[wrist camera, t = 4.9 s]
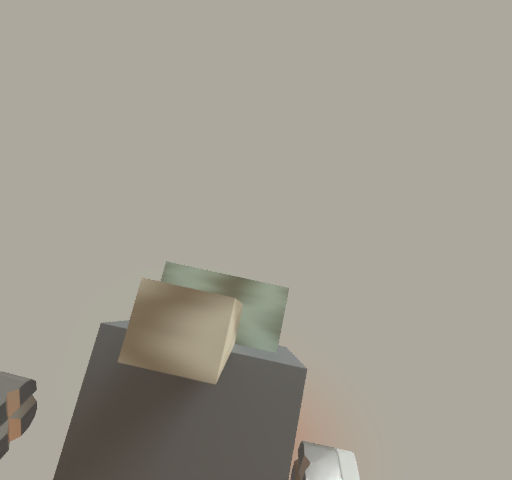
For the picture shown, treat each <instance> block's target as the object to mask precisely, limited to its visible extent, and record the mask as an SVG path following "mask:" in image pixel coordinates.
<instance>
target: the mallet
mask: <svg viewBox="0 0 512 480" xmlns="http://www.w3.org/2000/svg"><path fill="white" fill-rule="evenodd" d="M288 291H289V288H286V287H281V286H277V285H273V284H268V283H263V282H259V281H254V280H249V279H245V278H240V277H236V276H231V275H226V274H222V273H217V272H212V271H208V270H203V269H199V268H194V267H189V266H185V265H180V264H175V263H171V262H166V264H165V268H164V271H163V275H162V278H161V282H160V281H155V280H151V279H146V278H142V279H141V283H140V286H139V290H138V293H137V296H136V300H135V303H134V307H133V311H132V314H131V317H130V321H129V324H128V328H127V331H126V335H125V338H124V342H123V345H122V349H121V352H120V356H119V359H118V362H119V363H123V364H128V365H132V366H136V367H141V368H145V369H150V370H154V371H159V372H163V373H167V374H172V375H176V376H181V377H185V378H189V379H194V380H198V381H203V382H207V383H212V384H216V383H217V381H218V379H219V377H220V374H221V372H222V370H223V368H224V366H225V364H226V361H227V359H228V357H229V355H230V353H231V351H232V349H233V346H234V344H238V345H242V346H247V347H251V348H256V349H260V350H265V351H269V352H274V353H277V348H278V343H279V338H280V333H281V327H282V322H283V317H284V311H285V306H286V301H287V296H288Z"/></svg>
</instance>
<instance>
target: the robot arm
mask: <svg viewBox="0 0 512 480" xmlns="http://www.w3.org/2000/svg"><path fill="white" fill-rule="evenodd" d="M36 390H37V388H36V381H34V380H32V379H28V378H25V377H21V376H17V375H13V374H9V373H6V372H2V371H0V459H1V458H2V457H3V456H4V455H5V454H6V452H7V451H8V450H9V443H10V441H12V440H14V439H16V438H18V437H20V436H21V435H22V434H23V433H24V432H25V431H26V430H27V428H28V427H29V426H30V424H31V422H32V420H33V419H34V417H35V413H36V410H37V401H36V400H35V398H34V397H33V395H32V394H33V393H34V392H35V391H36ZM291 480H360V477H359V473H358V468H357V463H356V459H355V455H354V454H353V452H350V451H345V450H341V449H337V448H333V447H328V446H324V445H319V444H315V443H310V442H305V441H302V442H301V443H300V446H299V449H298V459H297V460H296V461H295V462H294V465H293V469H292V474H291Z"/></svg>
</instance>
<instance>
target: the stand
mask: <svg viewBox="0 0 512 480" xmlns="http://www.w3.org/2000/svg"><path fill="white" fill-rule="evenodd" d="M129 321H130V320H129ZM129 321H118V322H108V323H107V322H106V323H101V324H100V328H99V331H98V334H97V337H96V341H95V344H94V347H93V351H92V354H91V357H90V361H89V364H88V367H87V371H86V374H85V377H84V380H83V383H82V387H81V390H80V393H79V397H78V400H77V403H76V407H75V410H74V413H73V416H72V419H71V423H70V426H69V429H68V433H67V436H66V439H65V442H64V446H63V449H62V452H61V455H60V459H59V462H58V465H57V469H56V472H55V475H54V479H53V480H288V478H289V472H290V466H291V460H292V454H293V449H294V443H295V437H296V431H297V425H298V420H299V414H300V408H301V402H302V396H303V390H304V384H305V379H306V373H307V368H306V367H305V366H304V365H303V364H302V363H301V362H300V361H299V360H298V359H297V358H296V357H295V356H294V355H293V354H292V353H291V352H290V351H289V350H288V349H287V348H286V347H283V346H278V348H277V353H274V352H269V351H265V350H260V349H256V348H251V347H247V346H242V345H238V344H234V346H233V349H232V351H231V353H230V355H229V357H228V359H227V361H226V364H225V366H224V368H223V370H222V372H221V374H220V377H219V379H218V381H217V383H216V384H212V383H207V382H203V381H198V380H194V379H189V378H185V377H181V376H176V375H172V374H167V373H163V372H159V371H154V370H150V369H145V368H141V367H136V366H132V365H128V364H123V363H119V362H118V359H119V356H120V352H121V349H122V345H123V342H124V338H125V335H126V331H127V328H128V324H129Z"/></svg>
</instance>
